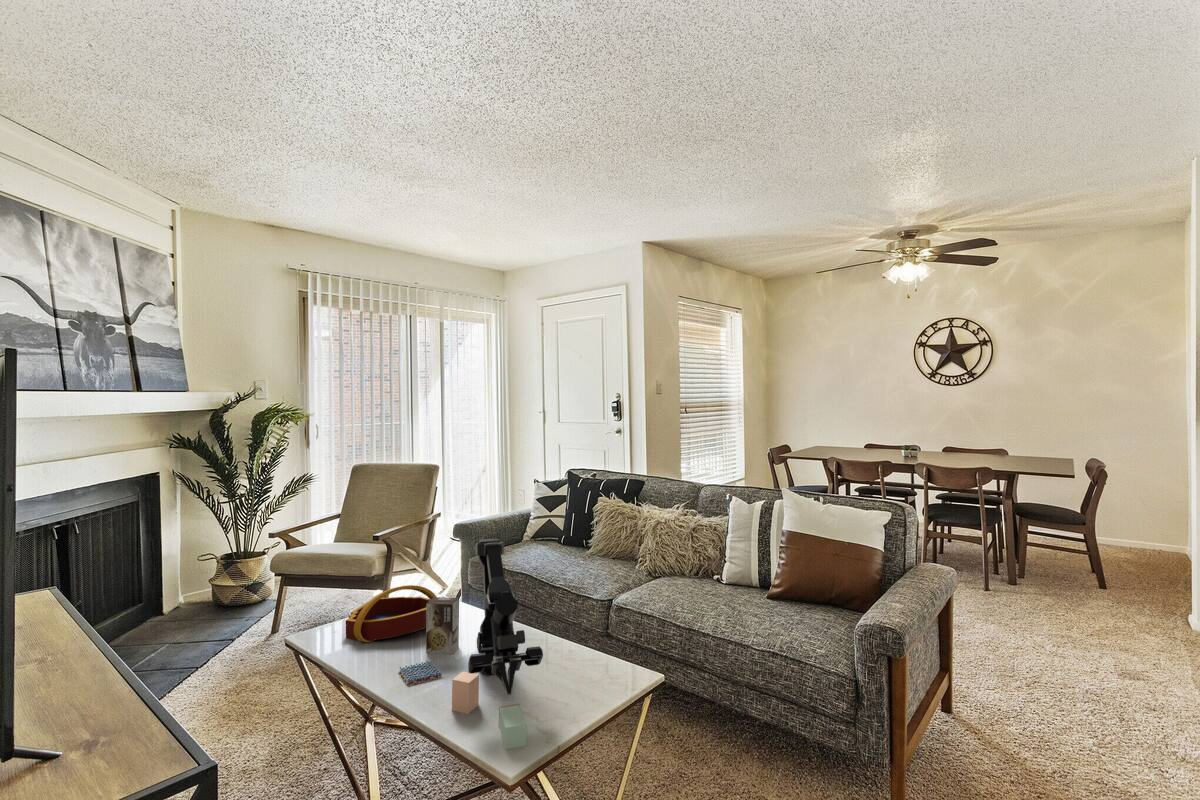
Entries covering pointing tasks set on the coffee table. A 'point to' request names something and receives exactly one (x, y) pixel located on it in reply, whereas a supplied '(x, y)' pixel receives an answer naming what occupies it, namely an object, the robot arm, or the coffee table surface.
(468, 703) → the terracotta block
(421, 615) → the decorative basket
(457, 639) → the coffee box
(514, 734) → the sage block
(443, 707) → the coffee table surface
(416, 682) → the woven mat
